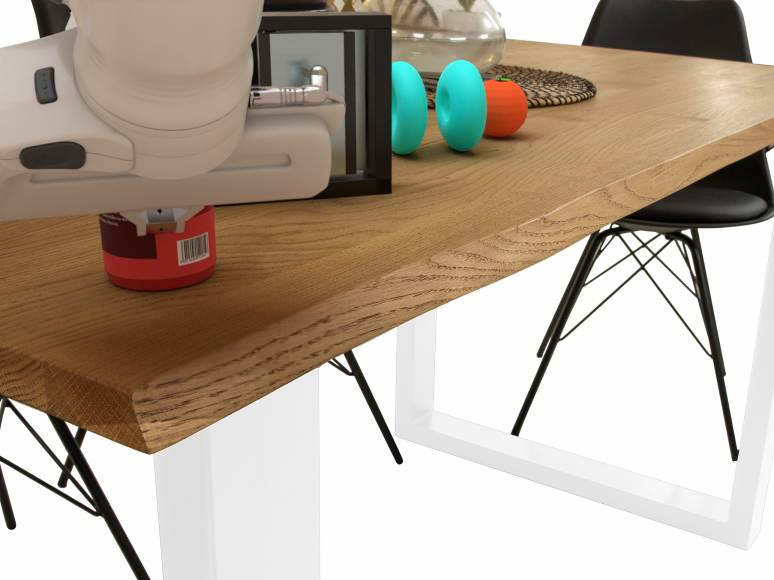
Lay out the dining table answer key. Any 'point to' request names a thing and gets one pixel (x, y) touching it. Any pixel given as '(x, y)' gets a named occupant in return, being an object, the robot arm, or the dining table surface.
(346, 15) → the window frame
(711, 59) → the dining table surface
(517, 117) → the clementine
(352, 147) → the window pane
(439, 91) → the donuts
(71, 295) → the dining table surface
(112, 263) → the canned food
